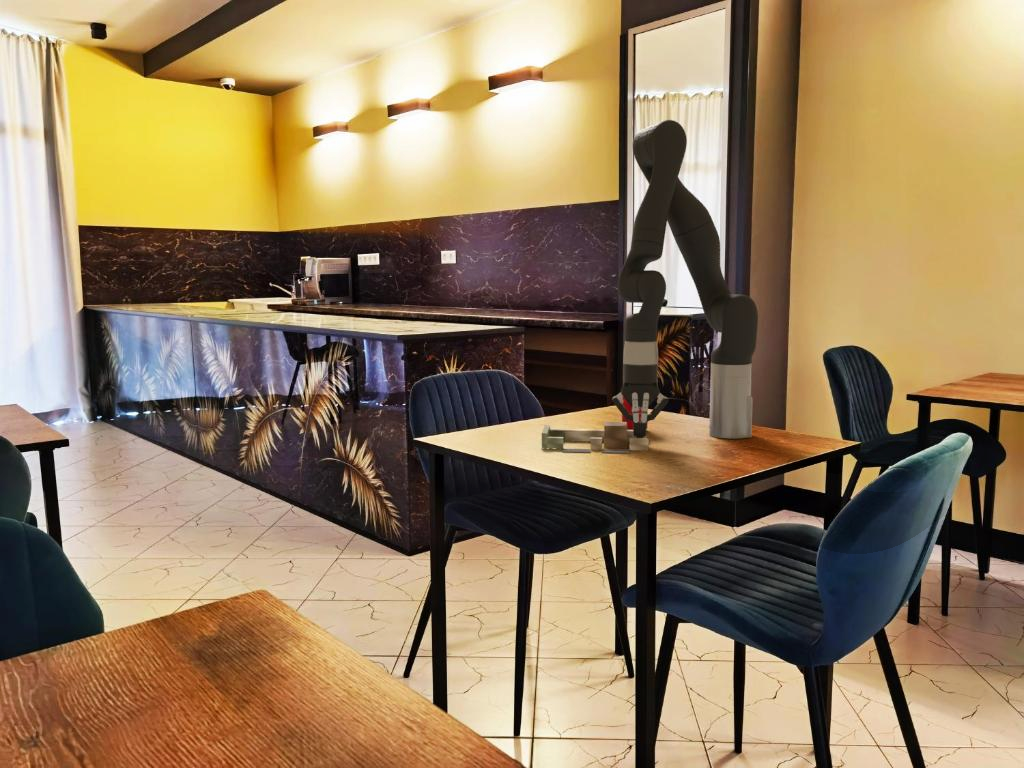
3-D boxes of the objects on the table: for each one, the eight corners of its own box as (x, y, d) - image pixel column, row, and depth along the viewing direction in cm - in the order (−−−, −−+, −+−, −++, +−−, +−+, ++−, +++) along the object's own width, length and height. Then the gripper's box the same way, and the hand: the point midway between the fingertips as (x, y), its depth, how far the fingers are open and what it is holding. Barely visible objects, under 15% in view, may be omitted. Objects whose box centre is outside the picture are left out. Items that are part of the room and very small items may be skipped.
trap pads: (629, 450, 176) (629, 449, 176) (630, 453, 173) (630, 452, 173) (563, 449, 177) (562, 448, 177) (562, 452, 174) (562, 451, 174)
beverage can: (649, 432, 195) (649, 383, 194) (623, 433, 196) (623, 383, 194) (645, 428, 202) (646, 380, 200) (620, 428, 202) (620, 380, 200)
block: (626, 443, 184) (626, 421, 183) (626, 448, 179) (627, 425, 178) (604, 443, 184) (604, 421, 184) (604, 447, 179) (604, 425, 179)
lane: (645, 440, 186) (645, 425, 185) (648, 450, 176) (648, 434, 175) (544, 439, 188) (544, 424, 188) (541, 448, 178) (541, 433, 178)
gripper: (669, 360, 181) (668, 435, 184) (610, 359, 183) (609, 435, 185) (672, 363, 174) (670, 442, 176) (610, 363, 175) (609, 441, 178)
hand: (639, 438), depth 181 cm, fingers closed
